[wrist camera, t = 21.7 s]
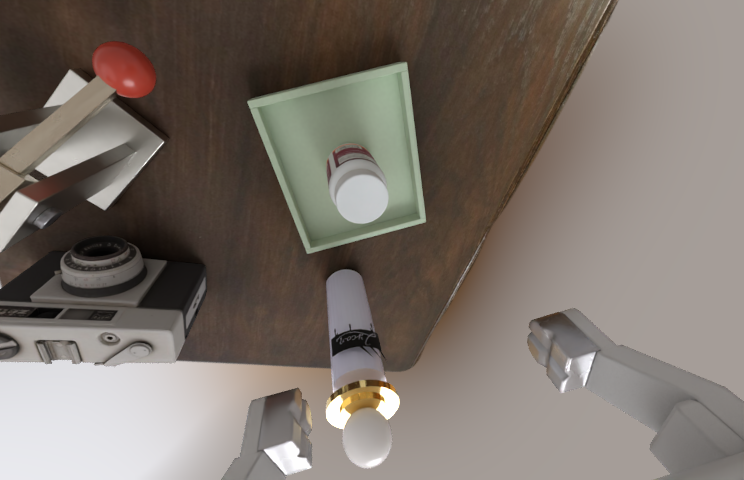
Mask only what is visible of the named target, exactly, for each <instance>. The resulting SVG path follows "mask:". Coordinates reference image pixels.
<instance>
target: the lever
mask: <svg viewBox="0 0 744 480" xmlns="http://www.w3.org/2000/svg"><path fill="white" fill-rule="evenodd" d="M92 65H93V69H94V71H95V74H96V75H97V77H95V78H94V79H93V80H92V81H91V82H89V83H88V84H87V85H86V86H85V87H83V88H82V89H81V90H80V91H79V92H77V93H76V94H75V95H74V96H73V97H71V98H70V99H69V100H68V101H67V102H65V103H64V104H63V105H62V106H61V107H60V108H58V109H57V110H56V111H55V112H54V113H52V114H51V115H50V116H49V117H48V118H46V119H45V120H44V121H43V122H42V123H40V124H39V125H38V126H37V127H36V128H34V129H33V130H32V131H31V132H30V133H28V134H27V135H26V136H25V137H24V138H22V139H21V140H20V141H19V142H18V143H16V144H15V145H14V146H13V147H12V148H10V149H9V150H8V151H7V152H6V153H4V154H3V155H2V156H1V157H0V212H1V211H2V210H3V208H4V207H5V205H6V204H7V203H8V201H9V200H10V199H11V197H12V196H13V194H14V193H15V192H16V191H17V190H20V189H22V188H24V187H26V186H29V185H31V184H33V183H35V182H38V180H36V179H35V178H33V177H31V176H29V175H28V174H29V173H31V172H32V171H33V170H34V169H35V168H36V167H37V166H39V165H40V164H41V163H42V162H43V161H44V160H45V159H47V158H48V157H49V156H50V155H51V154H52V153H53V152H55V151H56V150H57V149H58V148H59V147H60V146H61V145H62V144H64V143H65V142H66V141H67V140H68V139H69V138H70V137H72V136H73V135H74V134H75V133H76V132H77V131H78V130H80V129H81V128H82V127H83V126H84V125H85V124H86V123H88V122H89V121H90V120H91V119H92V118H93V117H94V116H95V115H97V114H98V113H99V112H100V111H101V110H102V109H103V108H105V107H106V106H107V105H108V104H109V103H110V102H111V101H113V100H114V99H115V98H116V97H117V96H118V95H121V96H124V97H128V98H140V97H144V96H146V95H148V94H149V93H150V92H151V91H152V90H153V89H154V87H155V84H156V73H155V69H154V67H153V65H152V63H151V62H150V60H149V59H148V58H147V57H146V55H145V54H144V53H142V52H141V51H140V50H138V49H137V48H135V47H134V46H132V45H129V44H127V43H124V42H118V41H110V42H105V43H103V44H101V45H100V46H98V47H97V48H96V50H95V51H94V53H93V57H92Z"/></svg>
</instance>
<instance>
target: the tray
mask: <svg viewBox="0 0 744 480" xmlns="http://www.w3.org/2000/svg"><path fill="white" fill-rule="evenodd" d="M247 103H248V105H249V108H250V110H251V113H252V115H253V118H254V120H255V123H256V125H257V128H258V130H259V133H260V136H261V138H262V141H263V143H264V146H265V148H266V151H267V153H268V156H269V158H270V161H271V163H272V166H273V168H274V171H275V173H276V176H277V178H278V181H279V183H280V186H281V189H282V191H283V194H284V196H285V199H286V201H287V204H288V206H289V209H290V211H291V214H292V216H293V219H294V221H295V224H296V226H297V229H298V231H299V234H300V237H301V239H302V242H303V244H304V247H305V249H306V252H307V254H309V253H313V252H317V251H320V250H324V249H328V248H331V247H335V246H339V245H343V244H346V243H350V242H354V241H357V240H361V239H365V238H369V237H372V236H376V235H380V234H383V233H387V232H391V231H395V230H398V229H402V228H406V227H409V226H413V225H417V224H421V223H424V222H426V218H425V217H426V216H425V208H424V200H423V192H422V183H421V175H420V167H419V158H418V150H417V142H416V133H415V125H414V117H413V108H412V100H411V92H410V84H409V75H408V67H407V62H397V63H393V64H389V65H385V66H381V67H377V68H373V69H369V70H365V71H361V72H357V73H353V74H348V75H344V76H340V77H336V78H332V79H328V80H324V81H320V82H316V83H312V84H308V85H304V86H300V87H296V88H292V89H288V90H283V91H279V92H275V93H271V94H267V95H263V96H259V97H255V98H251V99H250V100H248V101H247ZM345 143H356V144H359V145H361V146H363V147H365V148H366V149H367V150H368V151H369V152H370V154H371V155H372V157H373V158H374V160H375V161H376V163H377V164H378V166H379V167H380V169H381V170H382V172H383V173H384V175H385V178H386V182H387V190H388V195H389V200H388V205H387V207H386V209H385V211H384V212H383V214H382V215H381V216H380V217H379V218H377V219H376V220H374V221H372V222H369V223H365V224H357V223H353V222H350V221H348V220H346V219H345V218H344V217H343V216H342V215H341V214H340V213H339V211H338V209H337V206H336V205H335V204H334V203H333V201H332V199H331V197H330V194H329V187H328V180H327V173H326V162H327V159H328V156H329V155H330V153H331V152H332V151H333V150H334V149H335V148H336V147H338V146H339V145H342V144H345Z"/></svg>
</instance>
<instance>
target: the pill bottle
mask: <svg viewBox="0 0 744 480" xmlns="http://www.w3.org/2000/svg"><path fill="white" fill-rule="evenodd" d="M326 173H327V180H328V187H329V194H330V197H331V199H332V201H333V203H334V204H335V205H336V206H337V209H338V211H339V213H340V214H341V215H342V216H343V217H344V218H345V219H346V220H348V221H350V222H353V223H357V224H365V223H369V222H372V221H374V220H376V219H377V218H379V217H380V216H381V215H382V214H383V212H384V211H385V209H386V207H387V205H388V200H389V195H388V190H387V182H386V178H385V175H384V173H383V172H382V170H381V169H380V167H379V166H378V164H377V163H376V161H375V160H374V158H373V157H372V155H371V154H370V152H369V151H368V150H367V149H366V148H365V147H363V146H361V145H359V144H356V143H345V144H342V145H339V146H338V147H336V148H335V149H334V150H333V151H332V152H331V153H330V155H329V156H328V159H327V162H326Z"/></svg>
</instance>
